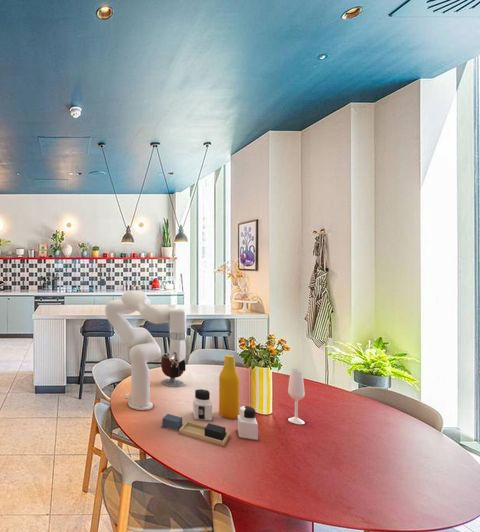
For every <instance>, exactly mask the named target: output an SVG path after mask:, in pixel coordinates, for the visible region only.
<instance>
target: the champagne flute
mask: <svg viewBox="0 0 480 532" xmlns="http://www.w3.org/2000/svg"><path fill="white" fill-rule="evenodd" d="M304 382H305V381H304V373H303V370H302V369H300V368H290V371H289V378H288V388H287V394H288V395H289V397H291V399H292V400H294V416H292V417H289V418H287V420H288V422H289V423H292V424H296V425H304V424H306V422H305V421H304V420H302V419H301V418H300V417H298V416H299V411H298V410H299V401H301V400H302V399H304V397H305V396H306V392H305V383H304Z"/></svg>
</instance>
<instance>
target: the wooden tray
mask: <svg viewBox="0 0 480 532" xmlns="http://www.w3.org/2000/svg"><path fill="white" fill-rule="evenodd" d="M206 426H207V425H203V424H199V423H195V422H191V421H188V420H186V421H185V422H184V424H182V426H181V427H180V428H179V429H178V431H179V434H182V435H186V436H189V437H192V438H196V439H199V440H202V441H205V442H209V443H213V444H216V445H220V446H222V447H224V446H225V445H226V443H227V441H228V439H229V438H230V432H229V431H226V436H225V438H224V440H223V441H221V440H217V439H214V438H210V437H207V436H205V427H206Z"/></svg>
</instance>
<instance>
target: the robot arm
mask: <svg viewBox="0 0 480 532" xmlns="http://www.w3.org/2000/svg"><path fill="white" fill-rule="evenodd" d="M136 311H137V312H139V315H140V317H141V318H142V319H143V320H145V321H147V322H149V323H150V324H151V323H152V324H155V325H161V324H169V340H170V341H169V352H168V353H169V360H170V361H171V375H172V376H179V370H180V371H184V372H186V370H187V369H186V361H187V360H186V358H187V357H186V356H187V343H186V341H187V340H188V338H187V337H188V333H187V332H188V331H187V330H188V329H187V327H188V326H187V324H188V323H187V311H186V309H184V308H176V307H172V306H160V307H155V306H152V301H151V299H150V298H149V297H148V295H147V293H146V292H145V291H143V290H140V289H138V290H126V291H125V292H123V293H122V295H121V298H120V299H113V300H110V301H108V302H107V303H106V304H105V307H104V313H105V314H104V315H105V317H106V319H107V321H108V322H109V324H110V325H111V326H112V327H113V328H114V330H115V331H116V333H117V334H118V336H119V338H120V340H121V341H122V342H123V344H124V345H125V346H127V347H130V349H129V354H128V355H129V360H130V368H131V369H130V370H131V371H130V372H131V373H130V374H131V375H130V376H131V377H130V378H131V379H130V380H131V383H130V384H131V385H130V387H131V388H130V389H131V390H130V394H129V393H125V394H124V399H125V400H128V402H127V405H128V407H129V408H131V409H133V410H137V411H148V410H151V409H153V408H154V403H153V402H152V401H151V370H150V368H149V365H148V363H151V362H156V361H157V360H159V359H160V358H161V357H162V351H161V347H160V345H159V344H158V343H157V341H156V340H155V338H154V337H153V335H152V334H151V333H150V331H149V330H148V329H147V328H145V327H143V326H142V327H141V326H139V327H133V325H131V323H130V322H129V320H128V319H126V317H123V315H130V314H132V313H135V312H136ZM175 362H176V363H175Z"/></svg>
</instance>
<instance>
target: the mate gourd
mask: <svg viewBox="0 0 480 532" xmlns="http://www.w3.org/2000/svg"><path fill="white" fill-rule="evenodd" d="M169 353H170V352H167V353H163V354H161V361H160V366H161V371H162V373H163V375H164V376H166V377H168V379H163V380H162V385H164V386H165V387H171V388H178V387H179V388H180V387H182V386H183V385H184V382H183V381H182V380H179V379H176V378H180V377H181V376H182V375H183V374H184V372H185V371H180V370H179V376H172V375H171V361H170V360H169ZM175 363H176V362H175Z"/></svg>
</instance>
